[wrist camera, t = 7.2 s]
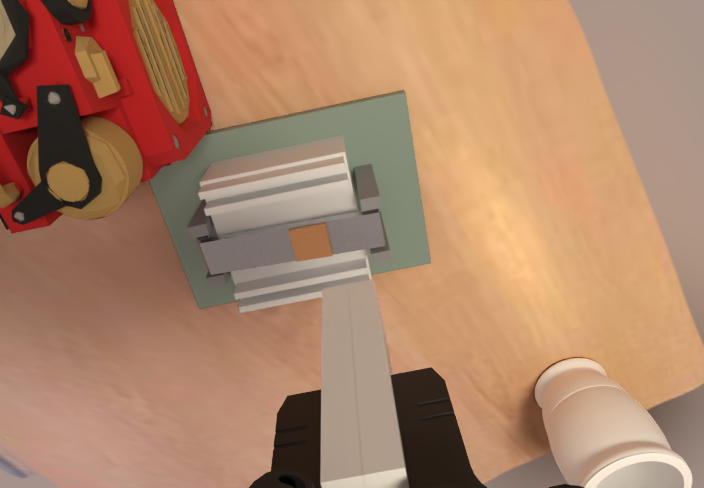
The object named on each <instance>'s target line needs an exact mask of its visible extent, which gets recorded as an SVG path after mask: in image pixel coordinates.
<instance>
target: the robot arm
mask: <svg viewBox="0 0 704 488" xmlns="http://www.w3.org/2000/svg"><path fill="white" fill-rule="evenodd" d="M249 488H487V487H486V486H484V485H483V484H482V483H481V482H480V481H479V480H478V479H477V477H476V476H475V475H474V473H473V470H472V468H471V466H470V463H469V459H468V456H467V453H466V449H465V446H464V443H463V439H462V436H461V433H460V430H459V426H458V423H457V420H456V416H455V414H454V410H453V407H452V403H451V401H450V397H449V393H448V390H447V387H446V384H445V380H444V379H443V378H442V377H441V376H440V375H439V374H438V373H437V372H436V371H435V370H434V369H433V368H432V367H431V368H426V369H421V370H415V371H410V372H405V373H399V374H394V375H393V373H392V367H391V361H390V355H389V350H388V346H387V341H386V336H385V331H384V327H383V322H382V317H381V312H380V308H379V303H378V298H377V293H376V289H375V284H374V279H370V280H365V281H360V282H355V283H350V284H345V285H340V286H335V287H330V288H324V289H322V358H321V390H316V391H311V392H306V393H301V394H295V395H290V396H287V398H286V400H285V401H284V403H283V405H282V406H281V408H280V410H279V411H278V413H277V422H276V435H275V440H274V450H273V458H272V467H271V472H268V473H266V474H264V475H263V476H261V477H260V478H258V479H257V480H256V481H254V482H253V483H252V485H251V486H250V487H249ZM549 488H584V487H582V486H577V485H567V484H563V485H558V486H553V487H549Z"/></svg>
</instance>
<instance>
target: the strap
mask: <svg viewBox="0 0 704 488" xmlns="http://www.w3.org/2000/svg"><path fill="white" fill-rule="evenodd" d="M196 240H197V242H198V245H199V248H200V250H201V253H202V256H203V259H204V261H205V264H206V267H207V269H208V272H209V273H210V274H211V275H214V274H220V273H226V272H232V271H238V270H244V269H250V268H256V267H262V266H268V265H274V264H280V263H286V262H292V261H297V262H299V261H305V260H311V259H317V258H323V257H329V256H333V255H334V254H340V253H346V252H352V251H358V250H364V249H370V248H376V247H382V246H385V239H384V234H383V229H382V223H381V218H380V213H379V208H378V209H373V210H368V211H363V212H362V211H358V212H352V213H347V214H341V215H335V216H330V217H324V218H318V219H312V220H307V221H301V222H295V223H289V224H284V225H278V226H272V227H267V228H261V229H255V230H249V231H244V232H238V233H232V234H226V235H221V236H215V237H211V235H207V236H202V237H197V238H196Z"/></svg>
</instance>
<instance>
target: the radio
mask: <svg viewBox="0 0 704 488" xmlns="http://www.w3.org/2000/svg"><path fill="white" fill-rule="evenodd" d="M211 126H212V122H211V113H210V109H209V106H208V103H207V100H206V97H205V94H204V91H203V88H202V85H201V82H200V79H199V76H198V73H197V71H196V68H195V65H194V62H193V59H192V56H191V53H190V50H189V47H188V44H187V41H186V38H185V35H184V33H183V30H182V27H181V24H180V21H179V18H178V15H177V12H176V9H175V6H174V3H173V0H0V219H1V220H2V222H3V224H4V226H5V227H6V229H7V230H8V229H10V231H11V233H16V232H21V231H25V230H30V229H35V228H39V227H44V226H49V225H50V224H52V223H53V222H54V221H55V220H56V219H57V218H58V217H60V216H61V215H62V214H64V215H67V216H70V217H73V218H77V219H84V220H92V219H99V218H102V217H105V216H108V215H110V214H112V213H113V212H114V211H116V210H117V209H118V208H119V207H120V206H121V205H122V204H123V203H124V202H125V201H126V200H127V198H128V197H129V196H130V195H131V194H132V193H133V192H134V191H135V190H136V188H137V187H138V185H139V183H140V182H142V181H146V180H151V179H152V178H153V177H154V176H155V175H156V174H157V173H158V171H159V170H160V169H161V168H162V167H163V166H170V165H171V163H173V162H177V161H180V160H184V159H186V158H187V157H188V156H189V154H190V153H191V152H192V151H193V149H194V148H195V147H196V145H197V144H198V143H199V141H200V140H201V139H202V138H203V136H204V135H205V134H206V132H207V131H208V130H209V128H210V127H211Z"/></svg>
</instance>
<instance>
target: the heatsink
mask: <svg viewBox="0 0 704 488" xmlns="http://www.w3.org/2000/svg"><path fill="white" fill-rule="evenodd" d="M149 183H150V185H151V188H152V190H153V193H154V195H155V198H156V200H157V203H158V205H159V208H160V210H161V213H162V216H163V218H164V221H165V223H166V226H167V228H168V231H169V233H170V236H171V238H172V241H173V244H174V246H175V249H176V251H177V254H178V256H179V259H180V261H181V264H182V266H183V269H184V272H185V274H186V277H187V279H188V282H189V284H190V287H191V289H192V292H193V294H194V297H195V299H196V302H197V305H198V307H199V309H202V308H207V307H212V306H217V305H222V304H227V303H232V302H237V301H240V303H239V307H238V308H239V311H240V313H243V312H248V311H254V310H259V309H264V308H269V307H274V306H279V305H284V304H289V303H294V302H299V301H304V300H310V299H315V298H320V297H322V289H324V288H330V287H335V286H340V285H345V284H350V283H355V282H360V281H365V280H370V279H372V276H371V275H374V274H379V273H384V272H389V271H394V270H399V269H404V268H409V267H414V266H419V265H424V264H429V263H431V258H430V252H429V245H428V238H427V232H426V225H425V219H424V212H423V205H422V199H421V192H420V186H419V179H418V172H417V166H416V159H415V153H414V146H413V139H412V133H411V126H410V120H409V113H408V106H407V100H406V93H405V91H404V90H402V91H397V92H392V93H387V94H383V95H378V96H373V97H369V98H364V99H359V100H355V101H350V102H345V103H341V104H336V105H331V106H327V107H322V108H317V109H312V110H308V111H303V112H298V113H294V114H289V115H284V116H280V117H275V118H270V119H266V120H261V121H256V122H251V123H247V124H242V125H237V126H233V127H228V128H223V129H219V130H214V131H209V132H206V134H205V135H204V136H203V138H202V139H201V140H200V141H199V143H198V144H197V145H196V147H195V148H194V149H193V151H192V152H191V153H190V154H189V156H188V157H187V158H186V159H184V160H180V161H177V162H173V163H171V165H170V166H163V167H162V168H161V169H160V170H159V171H158V173H157V174H156V175H155V176H154V177H153V178H152V179H151V180H149ZM378 208H379V213H380V218H381V223H382V229H383V234H384V239H385V246H382V247H376V248H370V249H364V250H358V251H352V252H346V253H340V254H334V255H333V256H329V257H323V258H317V259H311V260H305V261H299V262H297V261H292V262H286V263H280V264H274V265H268V266H262V267H256V268H250V269H244V270H238V271H232V272H226V273H220V274H214V275H211V274H210V273H209V272H208V269H207V267H206V264H205V261H204V259H203V256H202V253H201V250H200V248H199V245H198V242H197V240H196V238H197V237H202V236H207V235H211V237H215V236H221V235H226V234H232V233H238V232H244V231H249V230H255V229H261V228H267V227H272V226H278V225H284V224H289V223H295V222H301V221H307V220H312V219H318V218H324V217H330V216H335V215H341V214H347V213H352V212H358V211H362V212H363V211H368V210H373V209H378Z"/></svg>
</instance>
